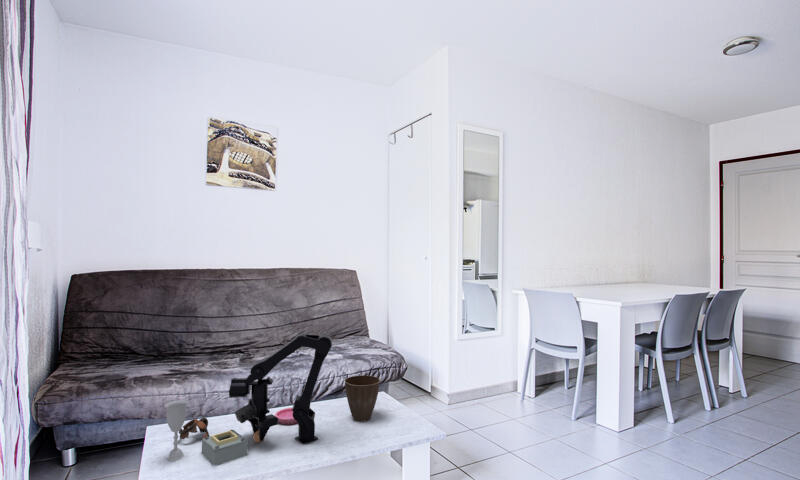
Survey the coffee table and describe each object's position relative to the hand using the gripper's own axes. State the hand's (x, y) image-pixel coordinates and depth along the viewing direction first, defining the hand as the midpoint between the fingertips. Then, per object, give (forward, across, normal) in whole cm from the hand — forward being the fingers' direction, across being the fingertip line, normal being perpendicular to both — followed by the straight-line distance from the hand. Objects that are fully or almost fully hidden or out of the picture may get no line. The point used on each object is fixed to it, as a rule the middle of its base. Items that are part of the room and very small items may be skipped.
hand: (258, 439), depth 157 cm
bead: (+1, 0, 0) cm, 1 cm away
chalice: (+1, -8, -26) cm, 27 cm away
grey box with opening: (+1, +1, -13) cm, 13 cm away
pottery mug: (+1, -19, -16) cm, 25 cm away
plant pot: (+1, +8, +42) cm, 43 cm away
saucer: (+2, -11, +19) cm, 22 cm away
